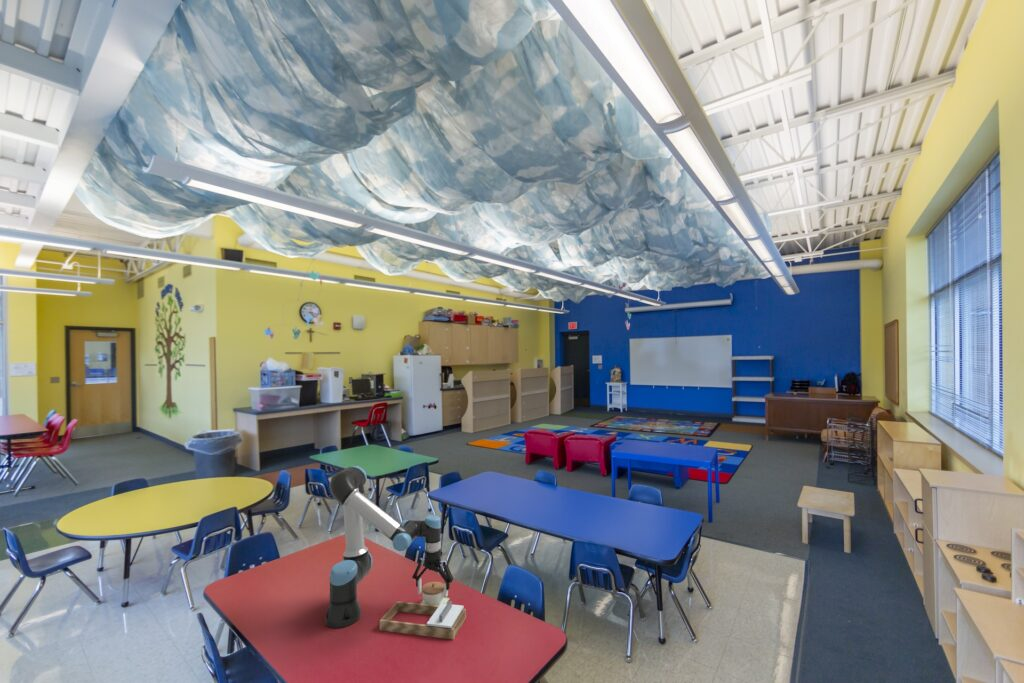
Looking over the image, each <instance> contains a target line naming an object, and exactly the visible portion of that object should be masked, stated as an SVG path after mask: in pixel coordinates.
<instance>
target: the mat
mask: <svg viewBox="0 0 1024 683" xmlns="http://www.w3.org/2000/svg"><path fill="white" fill-rule="evenodd" d="M449 601H450V597H446V598H444V597H443V600H442V601H441V602H440V604H441V603H443V604H448V602H449ZM419 604H426V603H425V602H424V600H422V601H421V602H420V603H419ZM440 604H439V605H440ZM439 605H438V606H439Z"/></svg>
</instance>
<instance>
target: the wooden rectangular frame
mask: <svg viewBox="0 0 1024 683" xmlns="http://www.w3.org/2000/svg"><path fill="white" fill-rule="evenodd" d="M438 607H439V606H437V605H427V604H420V603H417V602H408V601H399V600H397V601H396V602H395V603H394V604H393V605H392V606H391V607H390V609H388V611H387V612H385V614H384V615H383V616H382V617H381V619H380V620H379V631H382V632H383V631H384V632H391V633H399V634H406V635H416V636H423V637H432V638H439V639H447V640H455V638H456V636H457V634H458V633H459V631H460V629H461V627H462V625H463V624H464V622H465V620H466V619H467V611H466V610H467V609H466V608H463V610H462V611H461V613H460V615H459V616H458V618H457V620H456V621H455V623H454V625H453V626H452V628H444V627H436V626H428V625H427V624H425V623H424V624H423V623H415V622H408V621H407V622H406V621H396V620H392V619H393V618H394V616H396V614H397V613H398V612H399V613H400V612H402V613H410V614H417V615H427V616H432V615H433V614H434V612H435V611H436V610H437V608H438Z"/></svg>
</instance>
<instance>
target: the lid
mask: <svg viewBox="0 0 1024 683" xmlns="http://www.w3.org/2000/svg"><path fill="white" fill-rule="evenodd" d="M463 608H464V605H460V604H453V601H452V600H449V601H448V602H447V604H443V603H441V604H440V605H439V607H438V608H437V610H436V611H435V612H434V614H433V615H431V616H430V617H429V620H427V622H426V625H428V626H436V627H444V628H452V627H453V626H454V624H455V622H456V621H457V619H458V616H459V615H460V613H461V611H462V610H463ZM464 609H465V608H464Z"/></svg>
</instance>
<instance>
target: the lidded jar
mask: <svg viewBox="0 0 1024 683" xmlns="http://www.w3.org/2000/svg"><path fill="white" fill-rule="evenodd" d="M421 594H422V599H423V600H424V602H425V603H426V604H427V605H437V606H438V605H439V604H440V602H441V601H442V600H443V597H444V583H443V582H441V581H430V582H427V583H425V584H423V586H422V592H421ZM423 600H422V601H423Z"/></svg>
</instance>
